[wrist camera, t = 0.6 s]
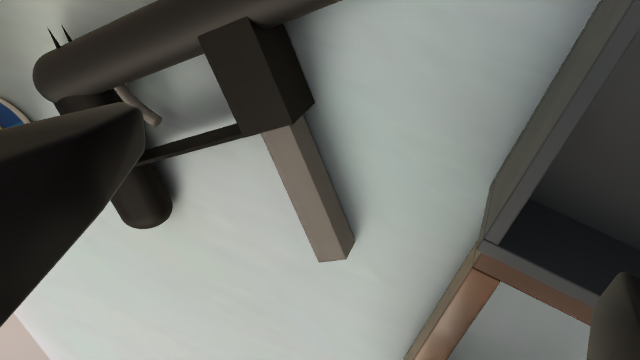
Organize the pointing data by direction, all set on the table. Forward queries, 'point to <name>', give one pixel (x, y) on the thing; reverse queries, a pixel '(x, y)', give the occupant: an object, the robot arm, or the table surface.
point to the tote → (577, 167)
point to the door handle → (236, 84)
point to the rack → (481, 304)
